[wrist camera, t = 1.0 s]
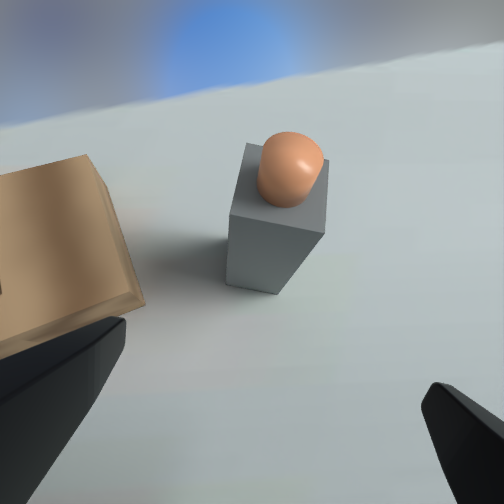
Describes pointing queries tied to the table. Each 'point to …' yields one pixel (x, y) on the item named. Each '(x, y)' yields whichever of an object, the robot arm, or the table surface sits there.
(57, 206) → the wooden block with hole
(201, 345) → the table surface
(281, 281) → the gray square post
